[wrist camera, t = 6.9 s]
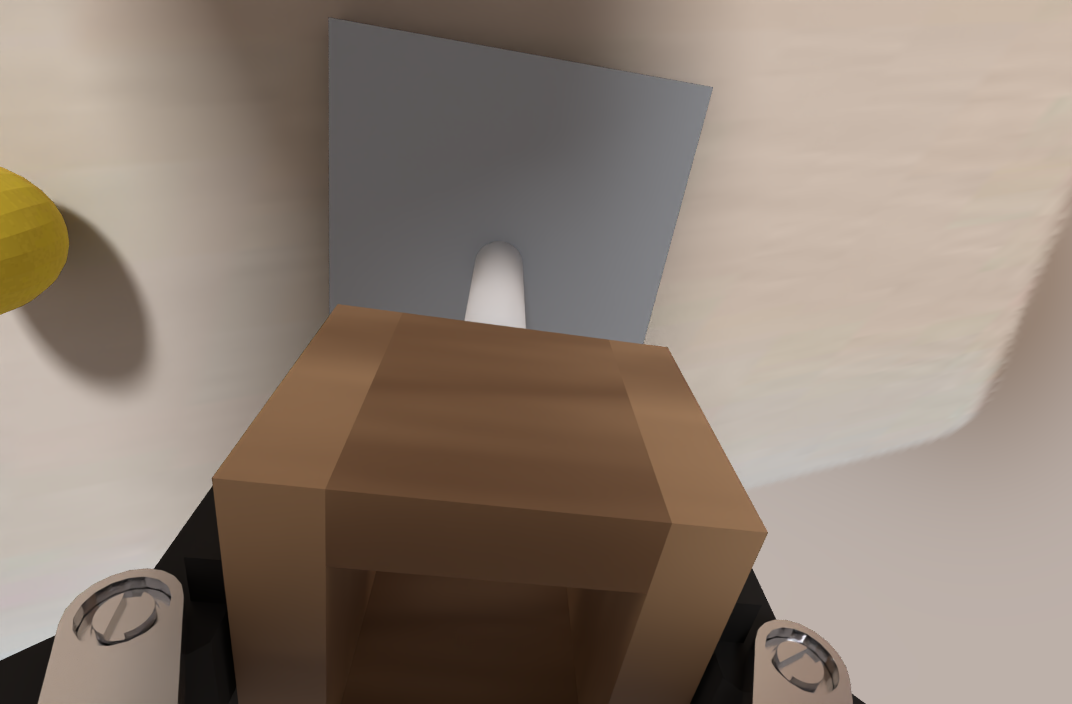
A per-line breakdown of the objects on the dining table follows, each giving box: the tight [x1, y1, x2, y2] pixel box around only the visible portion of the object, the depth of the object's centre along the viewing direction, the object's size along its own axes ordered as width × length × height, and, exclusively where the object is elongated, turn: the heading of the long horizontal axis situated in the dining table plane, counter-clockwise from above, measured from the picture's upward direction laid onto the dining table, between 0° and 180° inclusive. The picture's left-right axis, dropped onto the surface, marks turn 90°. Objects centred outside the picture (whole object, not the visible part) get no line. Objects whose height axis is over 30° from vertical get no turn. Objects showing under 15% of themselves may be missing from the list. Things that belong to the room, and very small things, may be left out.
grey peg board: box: [329, 17, 713, 344], centre depth 21 cm, size 16×14×9 cm
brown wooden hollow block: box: [212, 304, 768, 704], centre depth 10 cm, size 6×6×5 cm
